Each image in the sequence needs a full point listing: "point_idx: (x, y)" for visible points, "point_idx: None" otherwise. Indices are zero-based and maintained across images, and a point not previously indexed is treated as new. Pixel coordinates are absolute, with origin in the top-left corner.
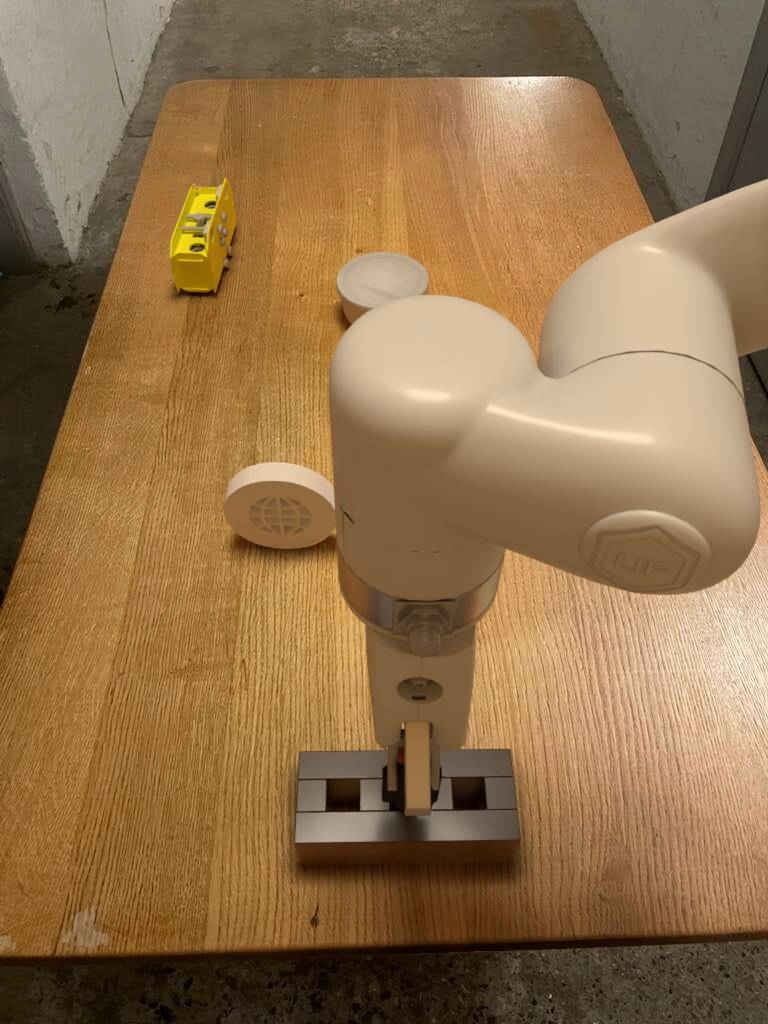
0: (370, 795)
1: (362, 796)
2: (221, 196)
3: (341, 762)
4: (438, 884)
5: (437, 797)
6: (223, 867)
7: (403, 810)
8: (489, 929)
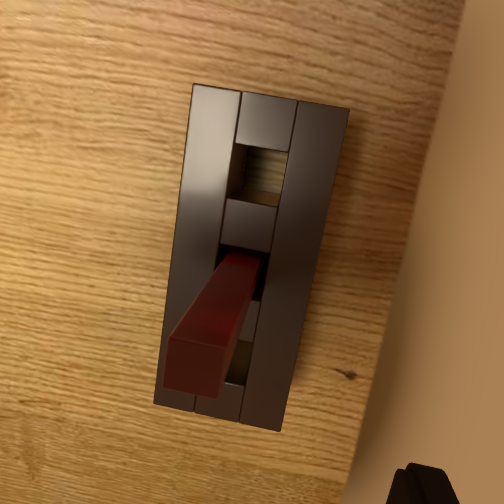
0: None
1: None
2: None
3: None
4: (344, 225)
5: (452, 492)
6: (269, 456)
7: (258, 273)
8: (416, 172)
